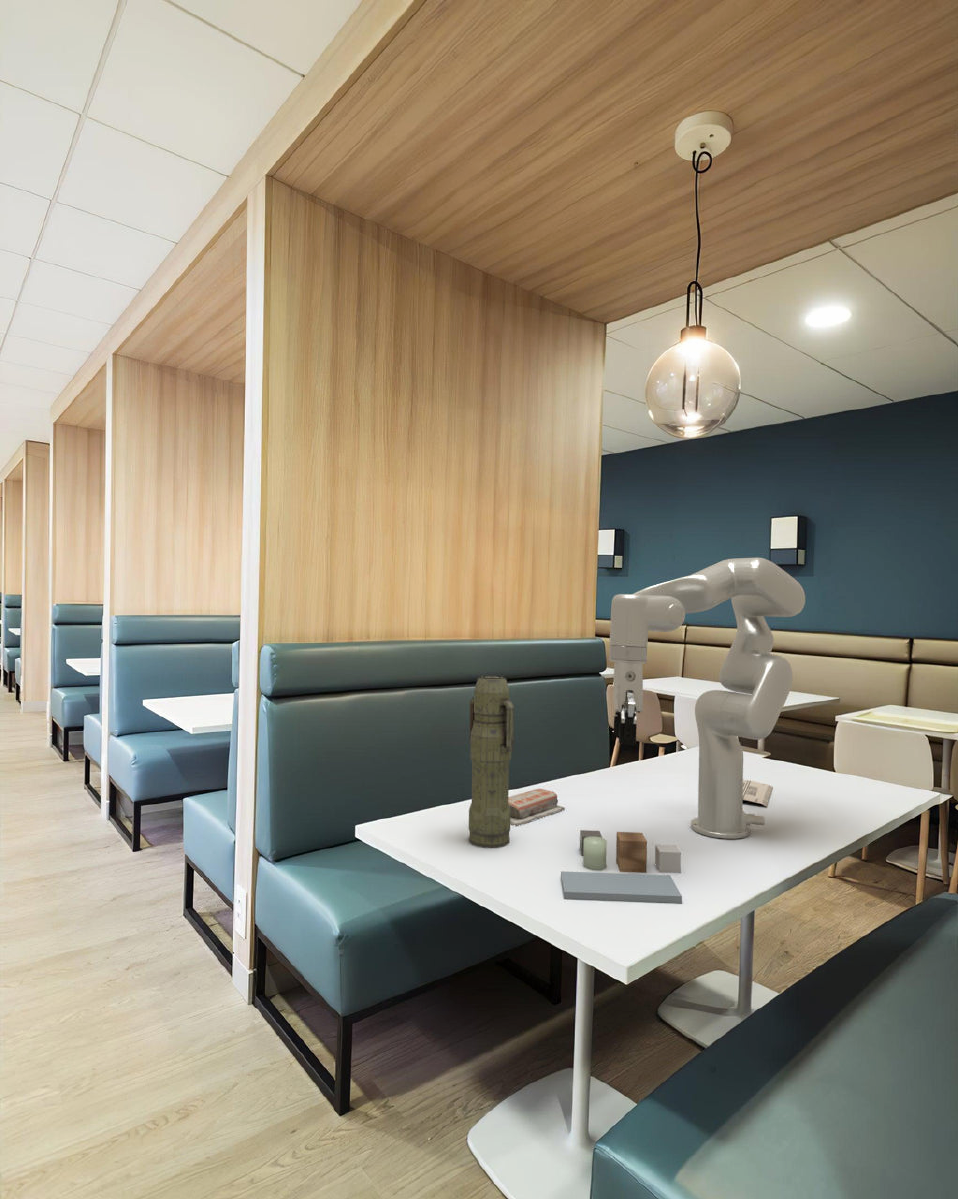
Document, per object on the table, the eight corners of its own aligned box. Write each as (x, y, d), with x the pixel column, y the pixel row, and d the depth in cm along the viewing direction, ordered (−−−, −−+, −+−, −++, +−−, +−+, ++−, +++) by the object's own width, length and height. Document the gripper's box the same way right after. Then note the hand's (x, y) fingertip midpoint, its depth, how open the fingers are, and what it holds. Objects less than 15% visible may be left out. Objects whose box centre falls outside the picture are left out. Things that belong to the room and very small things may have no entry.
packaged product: (534, 784, 176) (565, 792, 169) (533, 803, 176) (565, 812, 169) (485, 798, 163) (517, 807, 156) (485, 818, 163) (516, 829, 156)
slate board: (669, 882, 127) (670, 875, 127) (681, 903, 118) (682, 896, 118) (560, 877, 128) (560, 871, 128) (564, 898, 119) (564, 891, 119)
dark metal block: (599, 850, 143) (599, 830, 143) (601, 857, 139) (602, 837, 139) (579, 849, 143) (580, 830, 143) (581, 856, 139) (582, 836, 139)
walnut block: (641, 863, 136) (642, 832, 136) (646, 873, 131) (647, 841, 131) (616, 862, 136) (616, 831, 136) (620, 872, 131) (620, 840, 131)
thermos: (480, 829, 154) (483, 673, 154) (523, 841, 146) (526, 677, 147) (454, 839, 147) (457, 676, 147) (498, 853, 140) (501, 680, 140)
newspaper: (726, 784, 199) (727, 775, 199) (772, 794, 194) (773, 785, 194) (715, 803, 179) (716, 794, 179) (765, 815, 173) (766, 805, 173)
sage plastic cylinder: (604, 862, 136) (605, 836, 136) (607, 871, 131) (608, 844, 131) (582, 861, 136) (582, 836, 136) (584, 870, 132) (584, 844, 132)
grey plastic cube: (675, 865, 135) (675, 845, 135) (680, 873, 131) (680, 852, 131) (654, 864, 135) (655, 844, 135) (659, 872, 131) (659, 851, 131)
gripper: (653, 658, 131) (649, 749, 130) (640, 654, 148) (636, 733, 148) (614, 656, 131) (609, 746, 131) (605, 652, 149) (601, 731, 148)
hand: (624, 739), depth 139 cm, fingers open, 9 cm apart
